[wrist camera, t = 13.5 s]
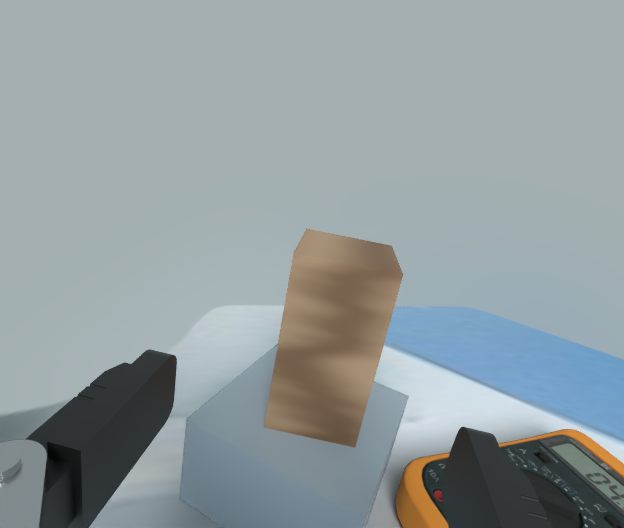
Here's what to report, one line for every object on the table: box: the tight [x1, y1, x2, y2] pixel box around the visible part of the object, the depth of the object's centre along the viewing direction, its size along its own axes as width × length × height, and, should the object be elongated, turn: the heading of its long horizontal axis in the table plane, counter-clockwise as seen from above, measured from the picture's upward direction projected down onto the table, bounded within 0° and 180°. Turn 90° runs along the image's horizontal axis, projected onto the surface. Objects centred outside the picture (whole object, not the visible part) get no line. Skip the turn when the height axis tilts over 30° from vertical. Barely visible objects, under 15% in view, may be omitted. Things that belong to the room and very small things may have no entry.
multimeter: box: [396, 429, 624, 528], centre depth 23 cm, size 9×18×3 cm, turn 111°
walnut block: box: [264, 229, 403, 448], centre depth 21 cm, size 5×5×10 cm
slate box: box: [180, 344, 409, 528], centre depth 23 cm, size 10×10×6 cm
